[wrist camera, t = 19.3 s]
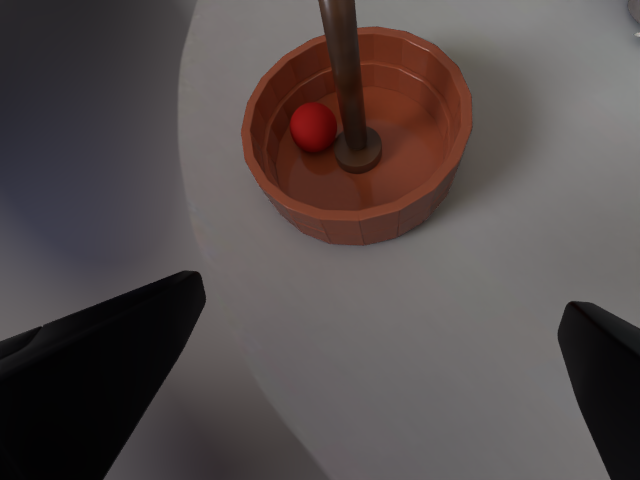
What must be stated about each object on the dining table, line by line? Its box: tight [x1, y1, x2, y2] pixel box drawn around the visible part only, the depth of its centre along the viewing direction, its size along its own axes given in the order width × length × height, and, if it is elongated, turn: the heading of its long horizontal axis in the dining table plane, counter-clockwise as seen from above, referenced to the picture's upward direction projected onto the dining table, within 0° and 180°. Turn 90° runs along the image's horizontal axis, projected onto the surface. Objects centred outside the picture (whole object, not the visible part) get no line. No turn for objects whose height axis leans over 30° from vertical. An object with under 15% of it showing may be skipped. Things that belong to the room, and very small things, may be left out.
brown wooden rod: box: [318, 0, 382, 174], centre depth 18 cm, size 3×3×13 cm
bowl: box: [241, 26, 473, 246], centre depth 22 cm, size 13×13×5 cm
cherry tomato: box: [290, 102, 337, 152], centre depth 23 cm, size 3×3×3 cm
